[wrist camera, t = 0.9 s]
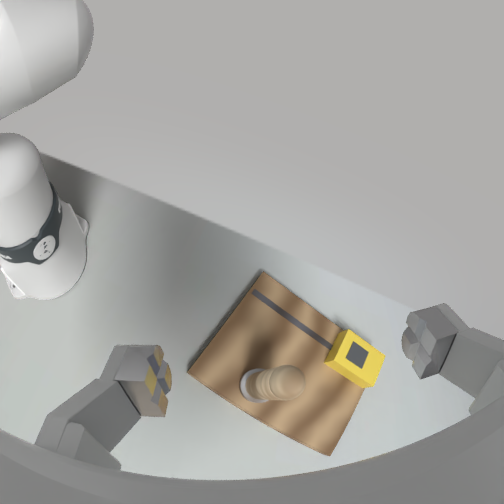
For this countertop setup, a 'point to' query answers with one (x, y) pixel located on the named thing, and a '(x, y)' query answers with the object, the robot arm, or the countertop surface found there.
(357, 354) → the block
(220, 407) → the countertop surface
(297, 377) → the wooden dome-topped peg
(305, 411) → the plywood board
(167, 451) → the countertop surface
